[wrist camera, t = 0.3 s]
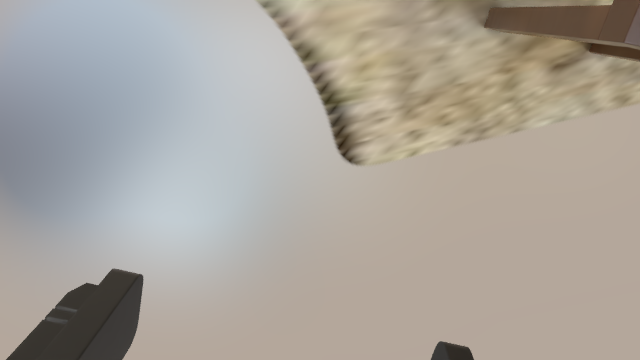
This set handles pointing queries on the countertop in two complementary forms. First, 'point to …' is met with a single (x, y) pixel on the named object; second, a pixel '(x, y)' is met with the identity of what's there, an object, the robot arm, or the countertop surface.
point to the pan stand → (577, 25)
